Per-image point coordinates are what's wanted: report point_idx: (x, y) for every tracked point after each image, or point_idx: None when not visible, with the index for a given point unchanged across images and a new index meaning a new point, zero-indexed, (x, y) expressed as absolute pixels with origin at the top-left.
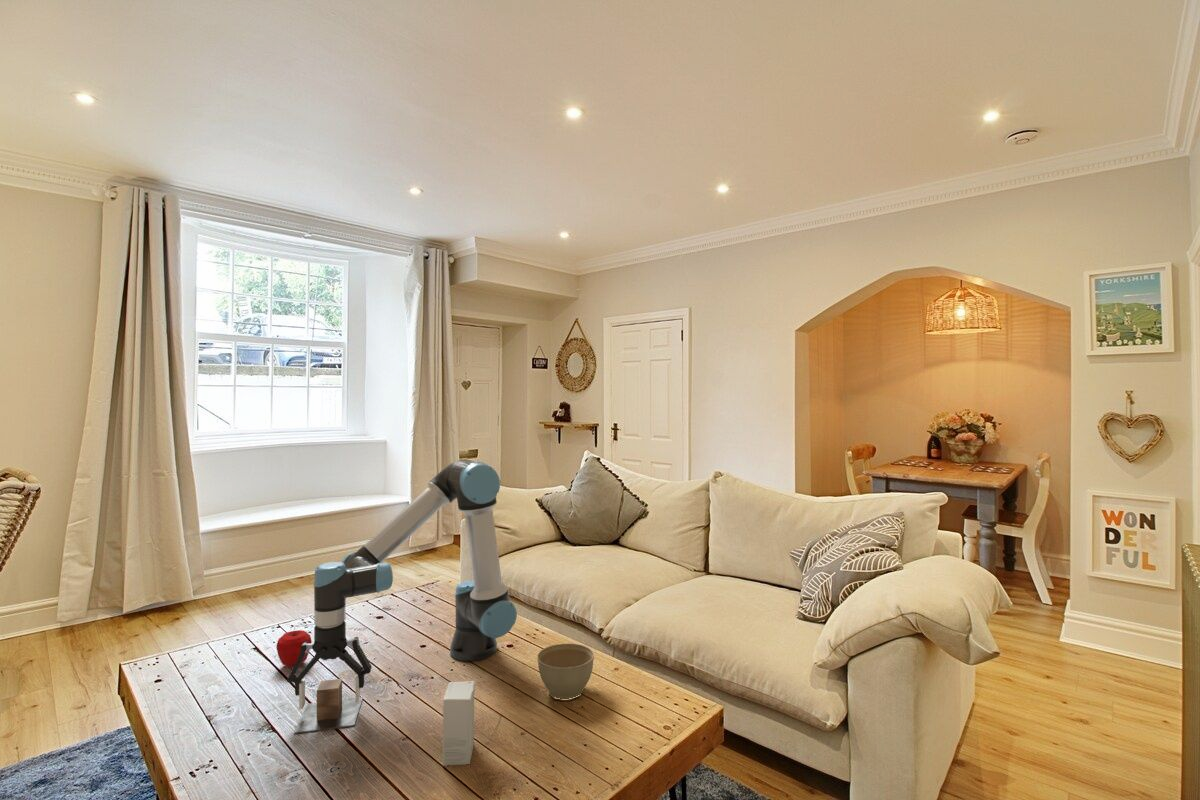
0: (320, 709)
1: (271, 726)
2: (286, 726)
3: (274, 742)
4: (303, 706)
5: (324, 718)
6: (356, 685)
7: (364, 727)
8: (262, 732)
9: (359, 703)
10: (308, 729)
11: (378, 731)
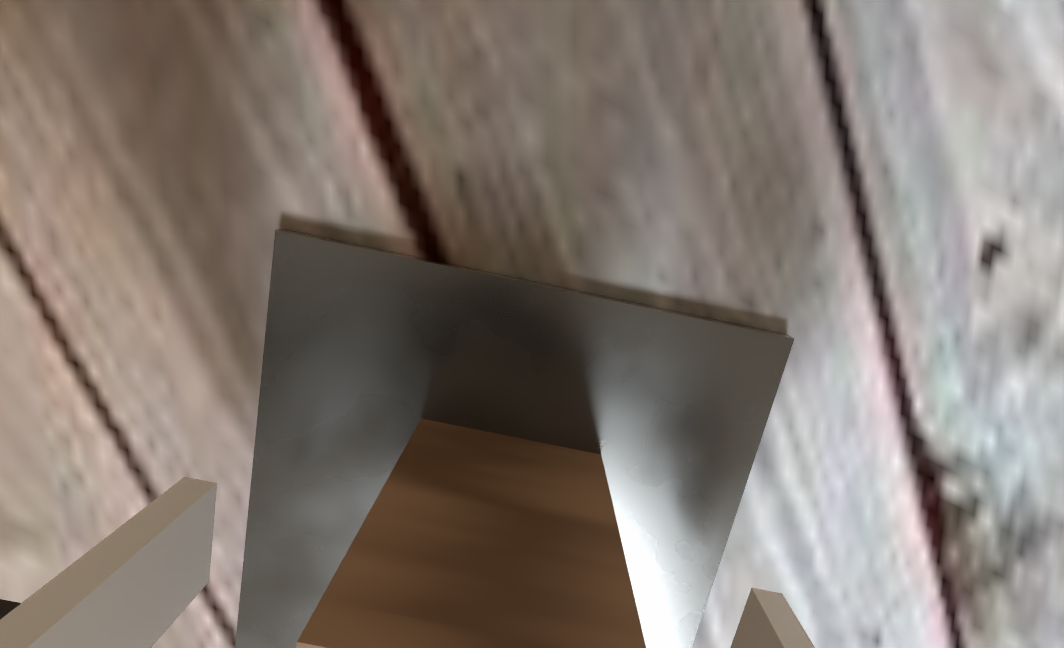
0: (576, 501)
1: (942, 541)
2: (834, 490)
3: (951, 271)
4: (739, 627)
5: (537, 447)
6: (22, 634)
7: (189, 166)
8: (1018, 480)
9: (254, 578)
10: (673, 336)
11: (48, 22)
